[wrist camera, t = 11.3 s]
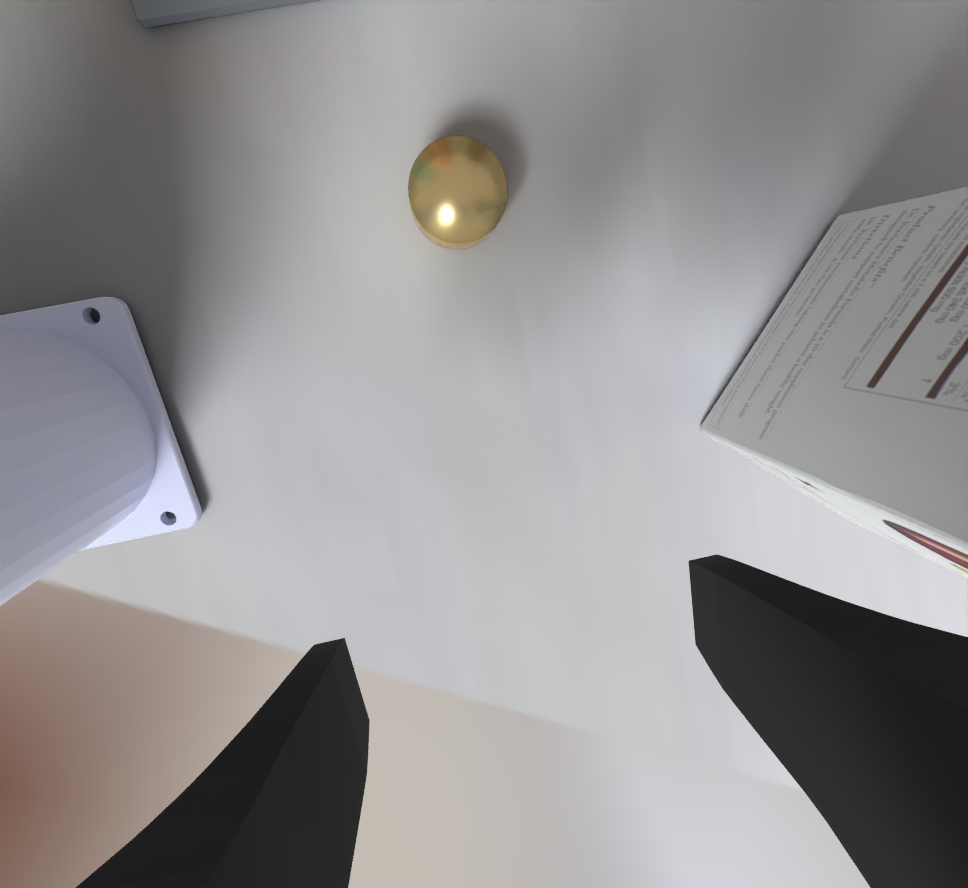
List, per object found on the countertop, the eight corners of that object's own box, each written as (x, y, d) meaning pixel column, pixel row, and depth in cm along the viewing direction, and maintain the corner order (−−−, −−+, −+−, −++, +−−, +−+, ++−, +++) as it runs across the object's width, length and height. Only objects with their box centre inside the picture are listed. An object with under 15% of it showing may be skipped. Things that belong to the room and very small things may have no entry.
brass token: (422, 258, 17) (421, 253, 16) (400, 161, 17) (397, 146, 15) (507, 239, 18) (515, 233, 16) (490, 143, 17) (496, 126, 15)
